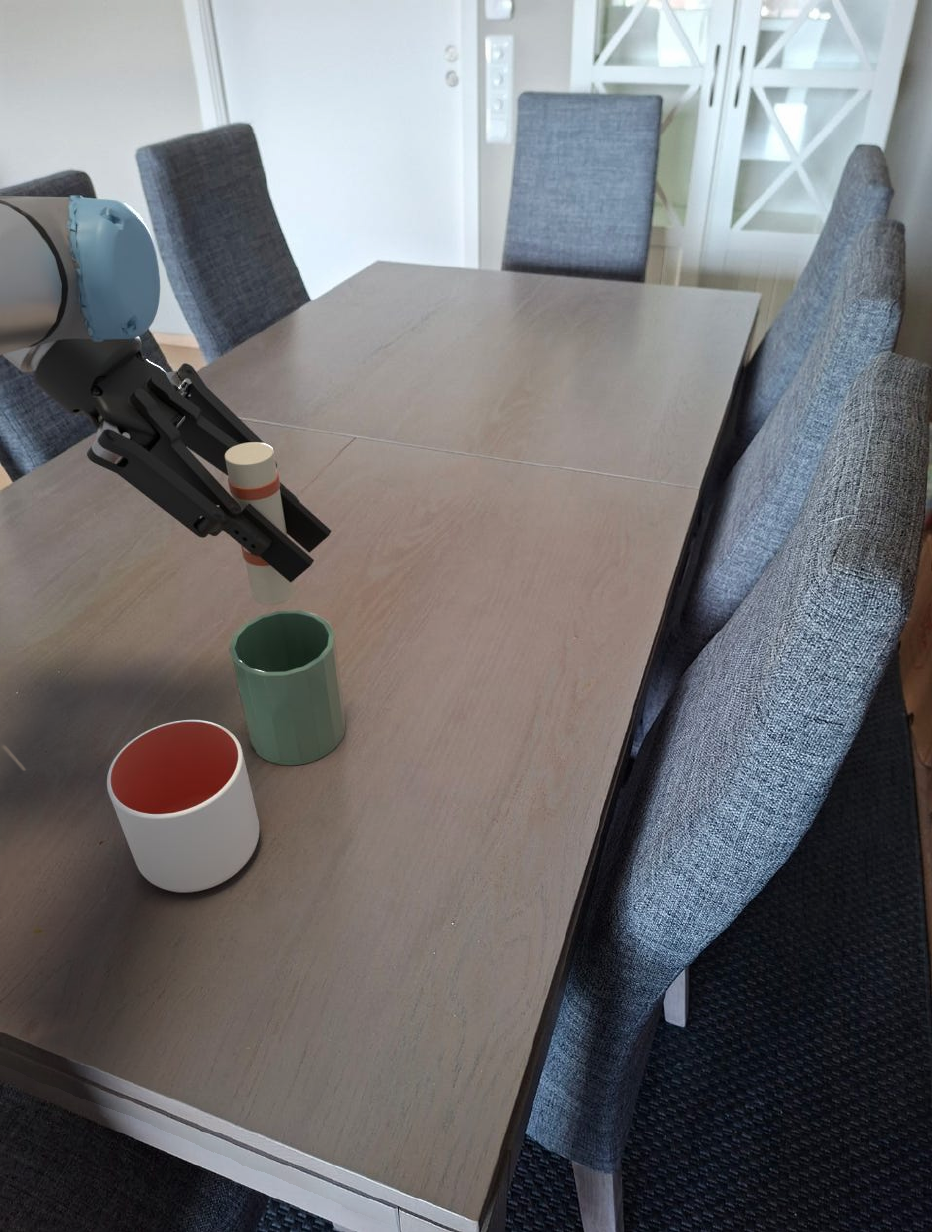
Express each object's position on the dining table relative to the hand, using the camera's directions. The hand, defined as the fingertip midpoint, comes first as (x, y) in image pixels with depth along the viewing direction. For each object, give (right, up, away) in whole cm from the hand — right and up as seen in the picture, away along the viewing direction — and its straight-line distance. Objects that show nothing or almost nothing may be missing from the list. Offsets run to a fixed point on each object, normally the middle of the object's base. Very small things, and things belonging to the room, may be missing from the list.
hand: (311, 556), depth 70 cm
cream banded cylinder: (-4, -3, +3) cm, 6 cm away
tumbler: (-4, -16, +13) cm, 21 cm away
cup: (-10, -24, +2) cm, 26 cm away
